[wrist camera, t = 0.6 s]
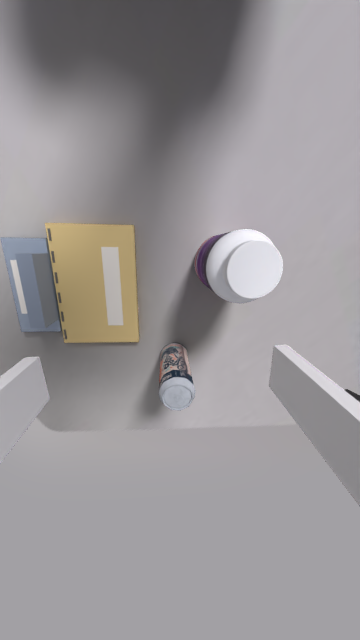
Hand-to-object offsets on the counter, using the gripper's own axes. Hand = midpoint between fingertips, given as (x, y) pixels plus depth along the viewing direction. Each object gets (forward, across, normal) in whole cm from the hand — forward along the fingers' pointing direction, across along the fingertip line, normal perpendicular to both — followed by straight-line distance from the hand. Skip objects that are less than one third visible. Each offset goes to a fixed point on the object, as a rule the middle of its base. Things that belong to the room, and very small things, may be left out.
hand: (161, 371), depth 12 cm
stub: (+24, -20, +2) cm, 31 cm away
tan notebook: (+24, -10, +1) cm, 26 cm away
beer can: (+24, +1, -11) cm, 27 cm away
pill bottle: (+24, +9, +4) cm, 26 cm away
